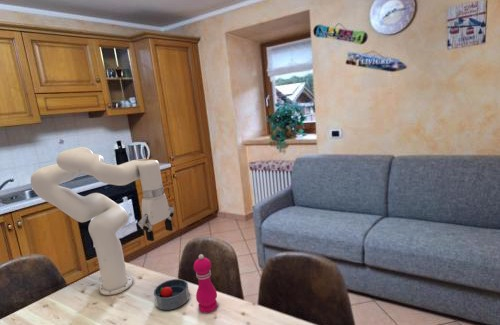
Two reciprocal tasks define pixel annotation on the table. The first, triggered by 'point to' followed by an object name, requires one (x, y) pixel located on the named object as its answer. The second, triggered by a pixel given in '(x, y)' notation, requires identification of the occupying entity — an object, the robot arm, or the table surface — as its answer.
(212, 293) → the pepper mill
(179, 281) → the bowl
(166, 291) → the strawberry
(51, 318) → the table surface
